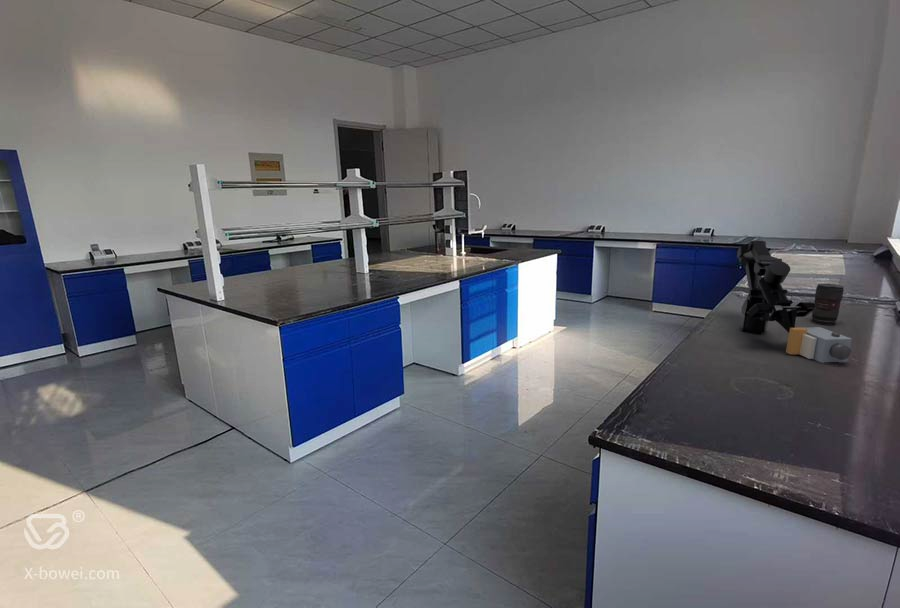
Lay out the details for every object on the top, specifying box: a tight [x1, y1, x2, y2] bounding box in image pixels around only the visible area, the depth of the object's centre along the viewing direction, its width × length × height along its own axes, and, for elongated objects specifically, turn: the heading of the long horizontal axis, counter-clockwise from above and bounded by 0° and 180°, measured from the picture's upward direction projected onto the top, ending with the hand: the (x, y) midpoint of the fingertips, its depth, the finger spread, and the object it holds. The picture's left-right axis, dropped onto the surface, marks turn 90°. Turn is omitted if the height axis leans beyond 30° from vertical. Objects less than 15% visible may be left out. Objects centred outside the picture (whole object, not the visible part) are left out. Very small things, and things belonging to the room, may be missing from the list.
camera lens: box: [811, 283, 845, 326], centre depth 174 cm, size 8×8×15 cm
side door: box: [785, 327, 817, 360], centre depth 142 cm, size 6×4×8 cm, turn 1°
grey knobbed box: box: [801, 326, 853, 364], centre depth 141 cm, size 14×8×8 cm, turn 1°
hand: (791, 333), depth 145 cm, fingers closed
